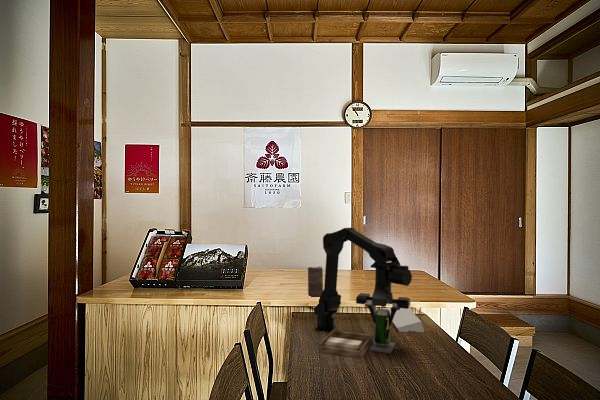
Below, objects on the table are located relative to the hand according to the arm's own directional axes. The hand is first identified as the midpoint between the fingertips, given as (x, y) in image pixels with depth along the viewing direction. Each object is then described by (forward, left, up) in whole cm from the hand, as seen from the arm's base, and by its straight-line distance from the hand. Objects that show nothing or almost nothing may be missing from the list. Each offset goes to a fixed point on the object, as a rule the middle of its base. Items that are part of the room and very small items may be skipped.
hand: (382, 324), depth 162 cm
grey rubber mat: (0, 0, -8) cm, 8 cm away
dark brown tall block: (-41, +43, -9) cm, 60 cm away
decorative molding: (+1, +38, -9) cm, 40 cm away
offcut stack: (-12, -9, -8) cm, 17 cm away
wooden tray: (-12, -4, -8) cm, 15 cm away
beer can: (0, 0, -7) cm, 7 cm away
